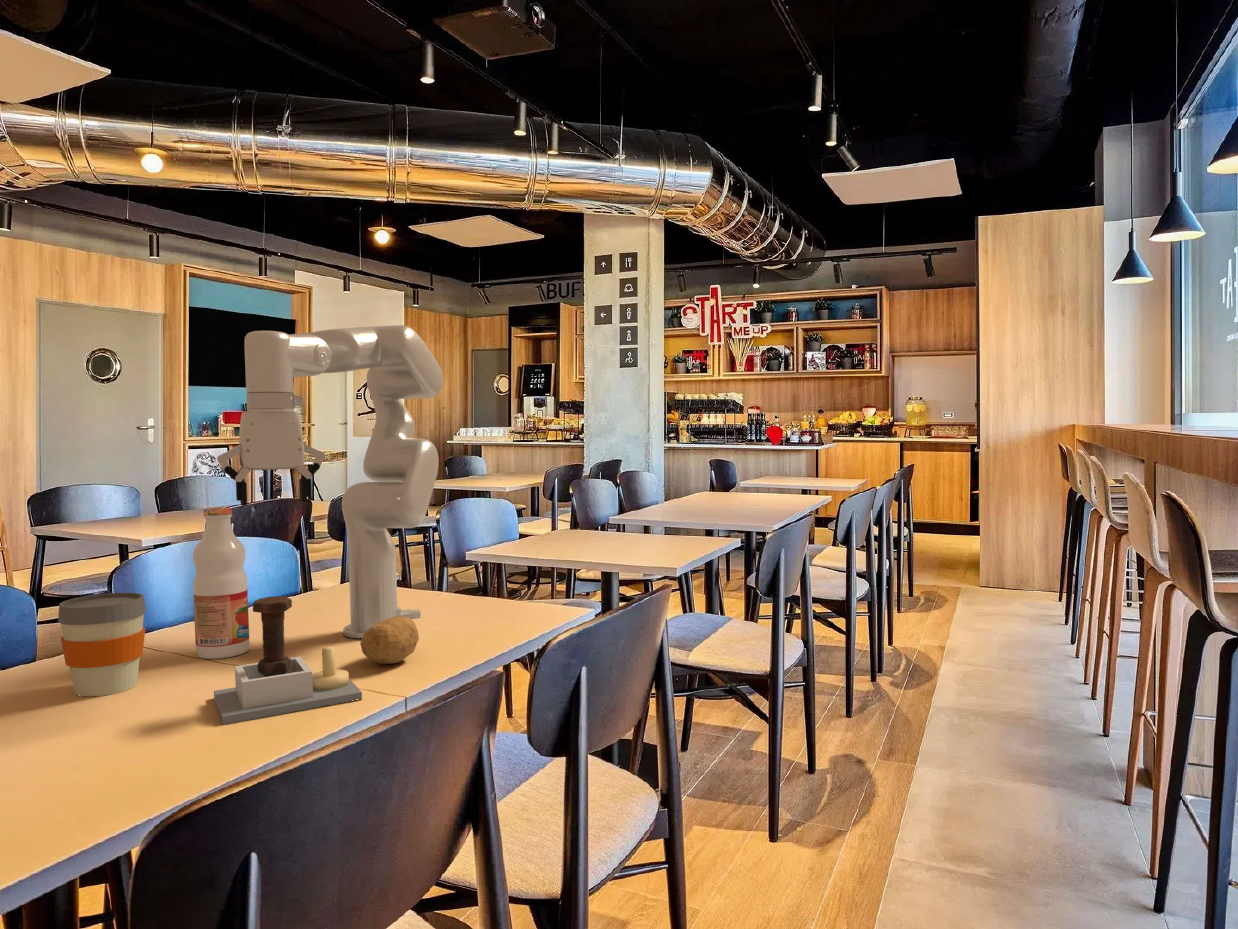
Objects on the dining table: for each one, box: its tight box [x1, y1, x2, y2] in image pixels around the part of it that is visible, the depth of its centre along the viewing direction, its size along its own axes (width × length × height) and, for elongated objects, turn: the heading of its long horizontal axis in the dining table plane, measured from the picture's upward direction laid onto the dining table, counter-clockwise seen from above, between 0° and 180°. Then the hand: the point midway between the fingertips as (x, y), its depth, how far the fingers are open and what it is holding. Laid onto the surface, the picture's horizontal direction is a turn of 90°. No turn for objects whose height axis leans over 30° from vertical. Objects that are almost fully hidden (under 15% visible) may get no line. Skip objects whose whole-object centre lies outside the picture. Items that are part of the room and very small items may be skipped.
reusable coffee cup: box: [57, 592, 147, 698], centre depth 139 cm, size 13×12×15 cm
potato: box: [359, 616, 420, 665], centre depth 153 cm, size 10×14×8 cm
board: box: [213, 646, 363, 725], centre depth 133 cm, size 20×14×7 cm
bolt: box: [252, 596, 293, 677], centre depth 131 cm, size 6×5×15 cm
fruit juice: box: [192, 507, 251, 660], centre depth 160 cm, size 9×9×28 cm
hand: (274, 503), depth 144 cm, fingers open, 9 cm apart
